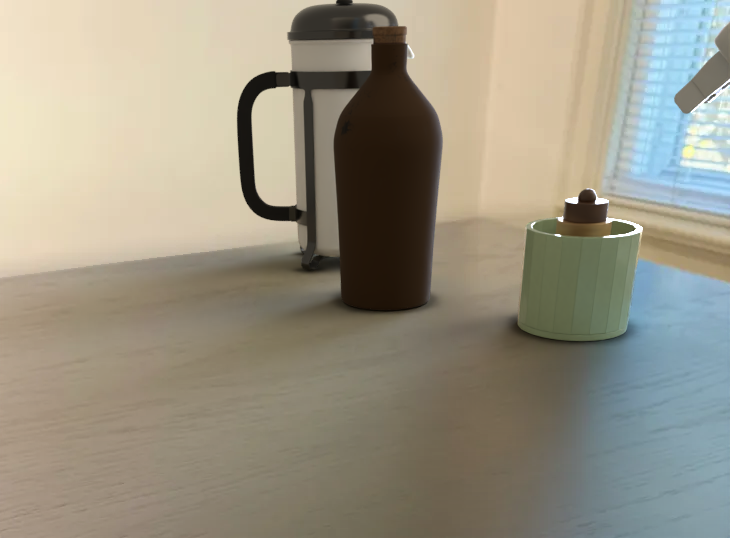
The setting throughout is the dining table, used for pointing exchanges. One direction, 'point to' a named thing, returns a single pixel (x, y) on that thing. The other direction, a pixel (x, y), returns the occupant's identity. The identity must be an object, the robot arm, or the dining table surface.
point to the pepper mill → (585, 216)
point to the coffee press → (314, 114)
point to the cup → (577, 281)
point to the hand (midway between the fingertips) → (690, 101)
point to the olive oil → (387, 183)
